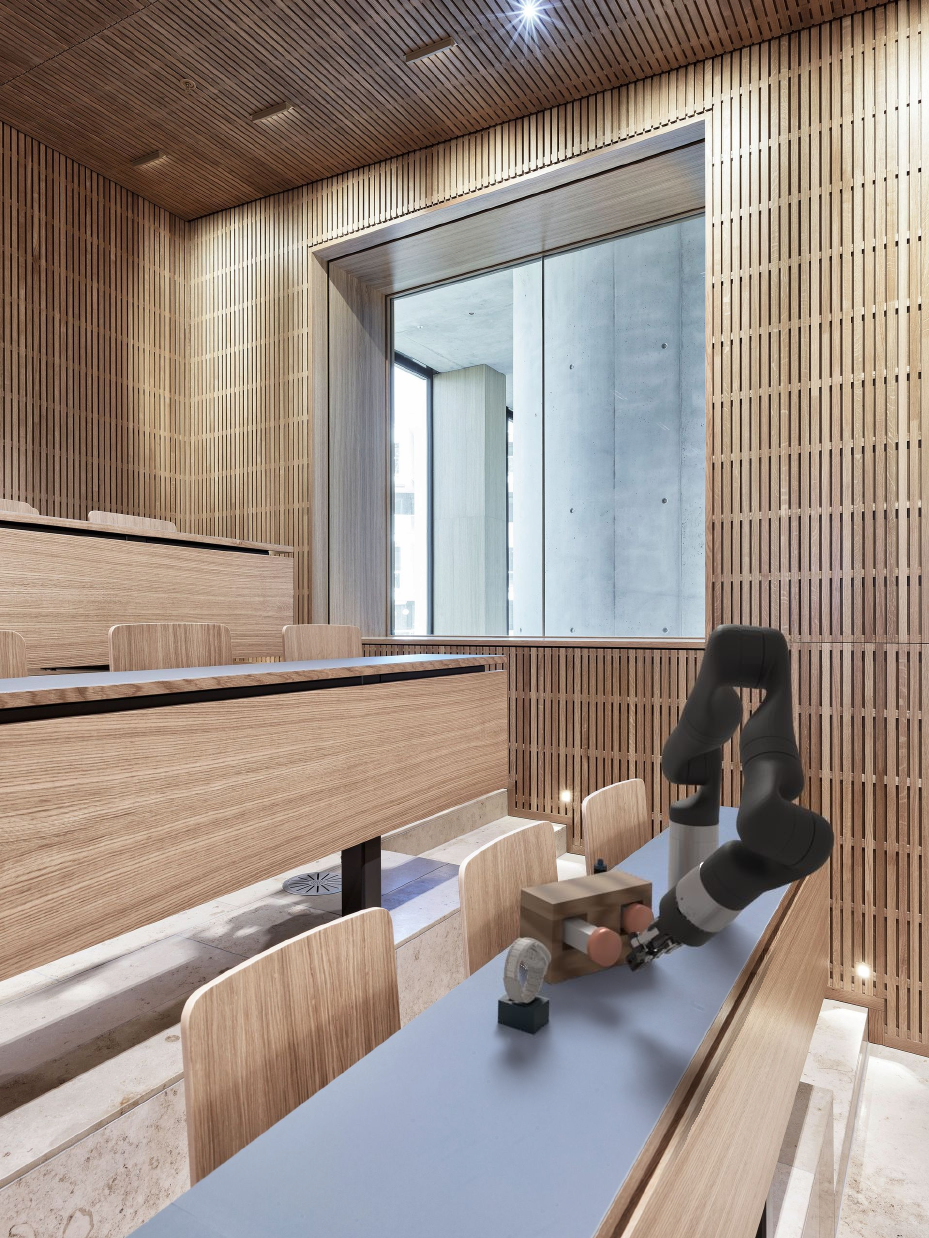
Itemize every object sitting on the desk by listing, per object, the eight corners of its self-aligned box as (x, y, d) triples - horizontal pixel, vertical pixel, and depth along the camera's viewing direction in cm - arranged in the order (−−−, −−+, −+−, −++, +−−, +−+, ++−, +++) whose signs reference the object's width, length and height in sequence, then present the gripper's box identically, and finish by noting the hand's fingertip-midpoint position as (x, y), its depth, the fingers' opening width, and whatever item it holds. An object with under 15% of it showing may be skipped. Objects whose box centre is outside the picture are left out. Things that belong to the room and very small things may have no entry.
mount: (616, 939, 137) (618, 869, 138) (651, 955, 131) (652, 882, 131) (519, 965, 126) (520, 888, 126) (551, 984, 119) (552, 904, 119)
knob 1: (574, 938, 126) (574, 906, 126) (621, 962, 117) (622, 928, 117) (549, 944, 123) (550, 912, 123) (595, 969, 114) (596, 934, 114)
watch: (555, 1016, 110) (557, 935, 110) (527, 1040, 103) (528, 955, 103) (520, 1005, 113) (521, 926, 113) (490, 1028, 106) (491, 945, 106)
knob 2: (608, 915, 136) (608, 885, 136) (653, 935, 128) (654, 904, 128) (586, 920, 134) (586, 890, 134) (631, 941, 125) (631, 909, 125)
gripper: (720, 868, 107) (651, 930, 118) (651, 884, 100) (584, 948, 110) (753, 920, 103) (678, 979, 113) (682, 940, 96) (609, 1002, 106)
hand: (632, 964), depth 112 cm, fingers closed
